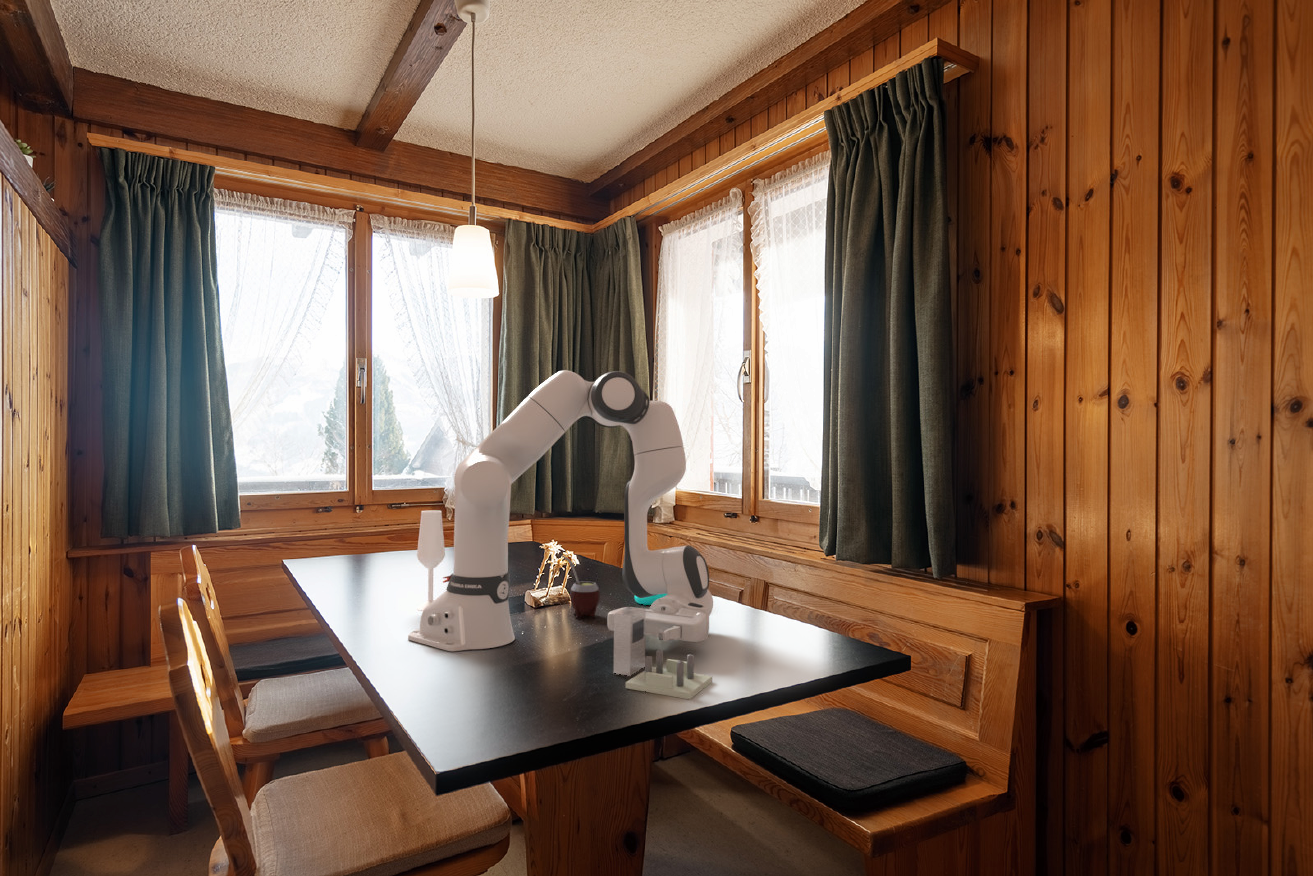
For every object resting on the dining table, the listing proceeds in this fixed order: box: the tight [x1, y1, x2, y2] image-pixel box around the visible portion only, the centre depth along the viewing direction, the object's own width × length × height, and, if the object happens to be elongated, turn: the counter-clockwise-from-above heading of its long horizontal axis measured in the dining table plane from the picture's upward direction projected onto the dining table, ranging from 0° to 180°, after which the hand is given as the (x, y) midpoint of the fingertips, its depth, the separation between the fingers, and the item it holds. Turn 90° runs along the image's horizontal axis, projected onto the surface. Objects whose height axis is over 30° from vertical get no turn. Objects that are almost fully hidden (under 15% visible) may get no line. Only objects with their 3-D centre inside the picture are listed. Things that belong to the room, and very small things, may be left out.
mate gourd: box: [561, 554, 601, 620], centre depth 180 cm, size 8×8×15 cm
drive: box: [613, 606, 647, 677], centre depth 140 cm, size 3×6×11 cm, turn 154°
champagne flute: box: [416, 509, 446, 612], centre depth 188 cm, size 7×7×24 cm
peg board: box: [625, 649, 713, 700], centre depth 132 cm, size 12×10×5 cm
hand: (639, 633), depth 143 cm, fingers open, 8 cm apart
